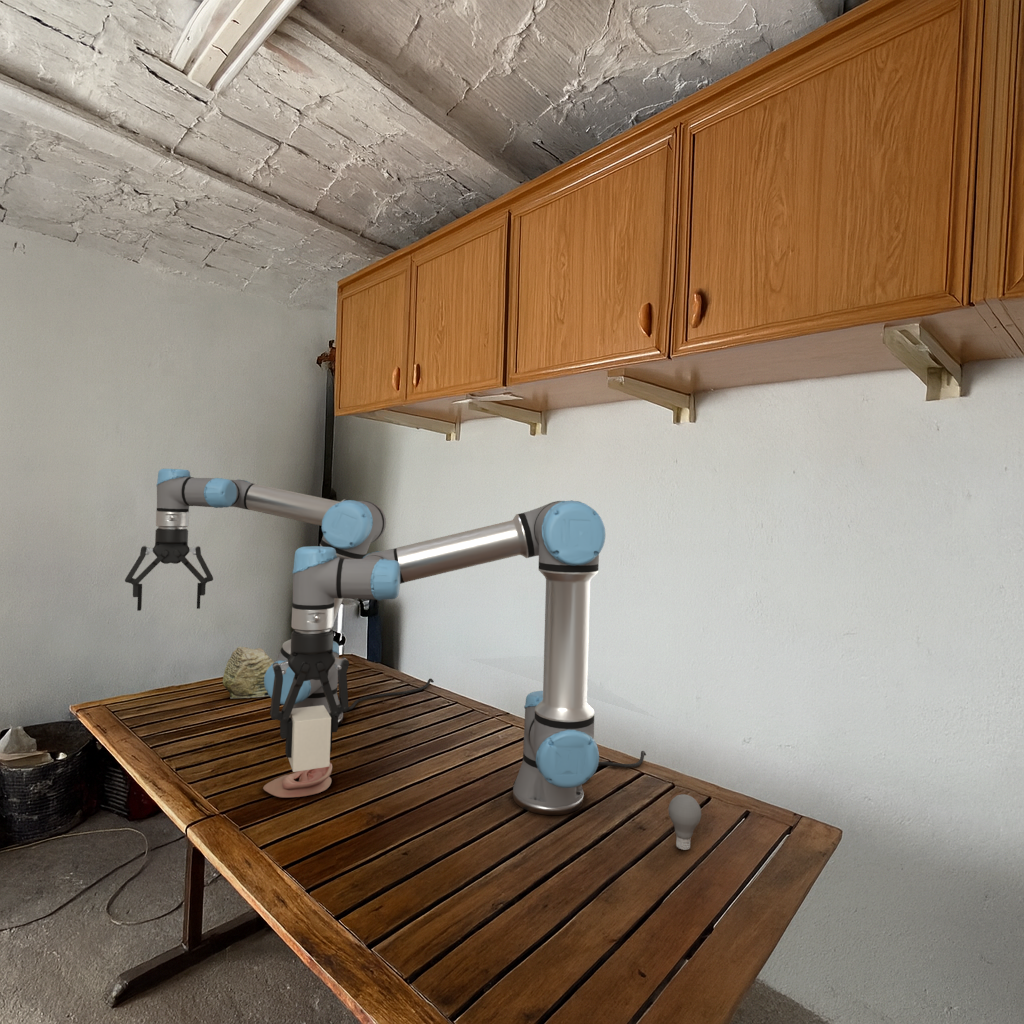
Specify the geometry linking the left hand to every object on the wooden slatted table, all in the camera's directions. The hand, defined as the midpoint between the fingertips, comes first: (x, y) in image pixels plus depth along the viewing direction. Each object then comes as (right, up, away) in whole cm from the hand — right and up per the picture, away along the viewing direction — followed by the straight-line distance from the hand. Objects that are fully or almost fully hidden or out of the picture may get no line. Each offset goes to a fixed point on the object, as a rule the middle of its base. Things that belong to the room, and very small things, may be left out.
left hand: (169, 608), depth 166 cm
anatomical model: (+43, -35, -28) cm, 62 cm away
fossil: (+9, -32, +32) cm, 46 cm away
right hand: (+52, -20, -47) cm, 73 cm away
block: (+52, -21, -47) cm, 73 cm away
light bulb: (+122, -38, -47) cm, 136 cm away
